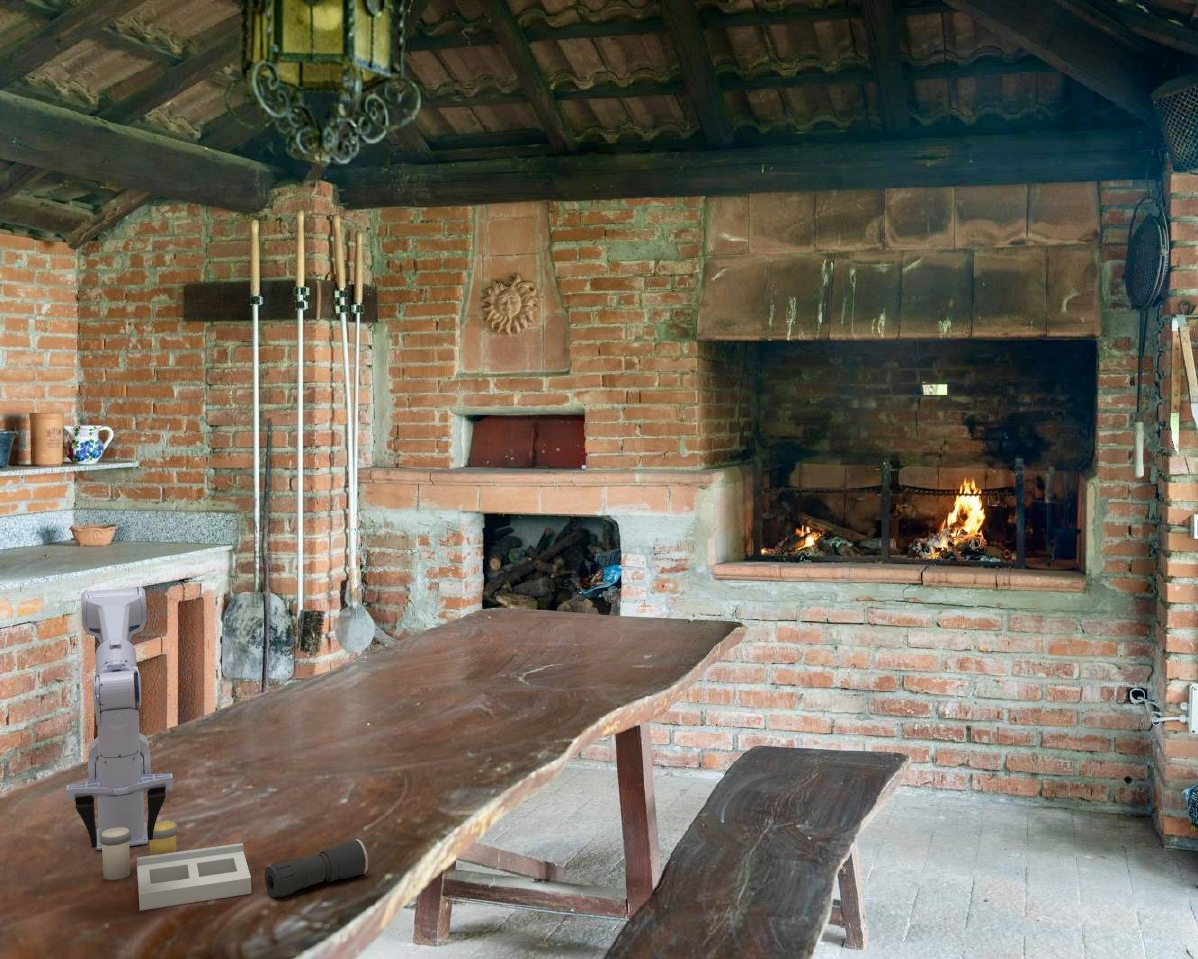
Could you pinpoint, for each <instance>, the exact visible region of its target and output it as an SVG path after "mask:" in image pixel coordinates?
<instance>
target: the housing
mask: <svg viewBox="0 0 1198 959" xmlns="http://www.w3.org/2000/svg"><path fill="white" fill-rule="evenodd" d="M136 872H137V874H136V875H137V889H138V890H137V892H138V905H139V908H138V909H139V911H146V910H151V909H152V910H153V909H157V908H165V907H173V906H179V905H184V904H185V905H186V904H191V903H197V902H198V903H199V902H204V901H205V902H206V901H211V900H216V899H217V900H218V899H225V898H230V897H238V896H245V895H251V894H252V877H251V873H250V869H249V867H248V863H247V859H246V855H245V852H244V843H243V842H240V843H233V844H227V845H218V846H217V845H216V846H211V847H203V848H197V849H196V848H195V849H188V850H182V851H176V852H173V853H166V854H159V855H151V856H150V855H146V856H139V857H138V856H137V857H136Z"/></svg>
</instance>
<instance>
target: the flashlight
mask: <svg viewBox="0 0 1198 959" xmlns="http://www.w3.org/2000/svg"><path fill="white" fill-rule="evenodd" d="M368 868H369V856H368V852H367V849H366V847H365V844H364V843H363V842H362V841H361V840H360V839H352V840H349V841H346V842H342V843H341V842H340V843H339V844H337V845H335V846H333V847H329V848H326V849H322V850H321V851H320V853H319V854H314V855H313V854H312V855H311V856H310V855H309V856H306V857H302V858H301V857H299V858H295V859H290V860H286V859H283V860H280V861H277V862H273V863H271V864H270V865H269V866H267V867H266V868H265V870H264V883H265V887H266V890H267V893H268V894H269V896H270V897H271V898H279V899H280V898H283V897H287V896H290V895H293V894H294V892H296V891H299V890H303V889H306V888H308V887H309V886H313V885H316V884H319V883H323V882H324V881H325V882H326V883H331V882H335V881H338V880H343V879H344V880H345V879H346V880H347V879H351V878H355V877H356V876H360V875H363V874H366V872H367V871H368Z"/></svg>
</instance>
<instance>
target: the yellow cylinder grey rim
mask: <svg viewBox="0 0 1198 959" xmlns="http://www.w3.org/2000/svg"><path fill="white" fill-rule="evenodd" d="M178 826H179V825H178V823H177V822H176V821H171V820H165V821H156V823H155V827H154V832H153V840H148V843H149V856H151V855H159V854H166V853H173V852H177V835H178V834H179V833H178V830H179V828H178ZM147 836H148V835H147Z"/></svg>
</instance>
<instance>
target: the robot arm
mask: <svg viewBox="0 0 1198 959" xmlns="http://www.w3.org/2000/svg"><path fill="white" fill-rule="evenodd" d="M80 595H81V596H80V601H81V602H80V606H81V624H82V628H83V631H84V632H85V635H87V636H91V637H95V638H97V640H98V641H99V643H100V645H99V646H98V647H97V648H96V651H95V676H94V677H93V678H92V699H93V700H92V701H93V709H94V713H95V714H94V715H95V722H96V726H97V737H96V738H94V739H93V740H91V742H90V743H89V744H90V745H89V746H88V756H87V768H88V769H87V770H88V772H87V773H88V780H87V781H84V782H79V783H74V784H67V785H66V802H67V803H70V802H75V806H74V807H75V809H76V812H77V813H78V815H79V816H80V818H81V819H82V822H83V823H84V826H85V828H86V831H87V833H88V835H89V838H90V842H91V843H90V844H91V848H96V850H97V851H102V844H101V843H100V833H101V832H102V831H104V830H106V829H110V828H115V827H126V828H129V829H130V830H131V840H129V847H132V846H141V845H146V844H148V843H149V840H153V832H154V827H155V823H156V822H157V819H158V817H159V814H160V812H161V809H162V806H163V804H164V802H165V800H166V791H172V790H174V777H173V773H152V769H151V768H152V767H151V749H150V741H149V739H148V738H147V736H146V735H145V734H143V733H140V712H139V710H140V709H141V706H142V680H141V679H142V677H141V673H140V670H139V666H137V651H136V648H135V647H134V644H132V643H131V642H130V641H131V639H132V637H133V635H134V634H135V635H136V634H139V633H140V632H143V631H144V628H145V627H146V622H147V599H146V590H145V589H144V588H143V586H138V587H132V588H131V587H129V588H115V589H113V588H112V589H99V590H98V589H97V590H88V589H85V590H83V592H82V593H81V594H80ZM136 703H137V704H138V706H137V705H136ZM144 792H147V822H146V821H145V805H144V804H145V800H144ZM95 798H97V813H98V814H97V815H98V816H97V817H98V828H97V825H96V818H95V817H96V815H95V814H96V813H95ZM147 835H148V836H147Z"/></svg>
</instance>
